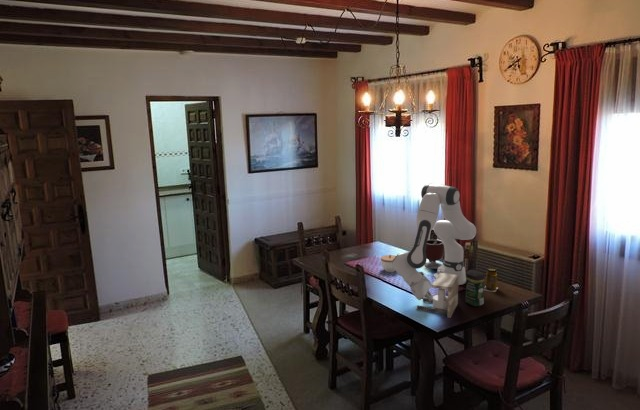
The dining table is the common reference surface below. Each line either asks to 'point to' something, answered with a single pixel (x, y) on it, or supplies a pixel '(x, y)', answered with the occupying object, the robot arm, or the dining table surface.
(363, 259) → the dining table surface
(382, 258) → the lidded bowl
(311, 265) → the dining table surface
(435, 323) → the dining table surface
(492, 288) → the condiment
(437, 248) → the mate gourd
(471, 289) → the coffee jar
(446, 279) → the shelf
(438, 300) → the base with upright slab
